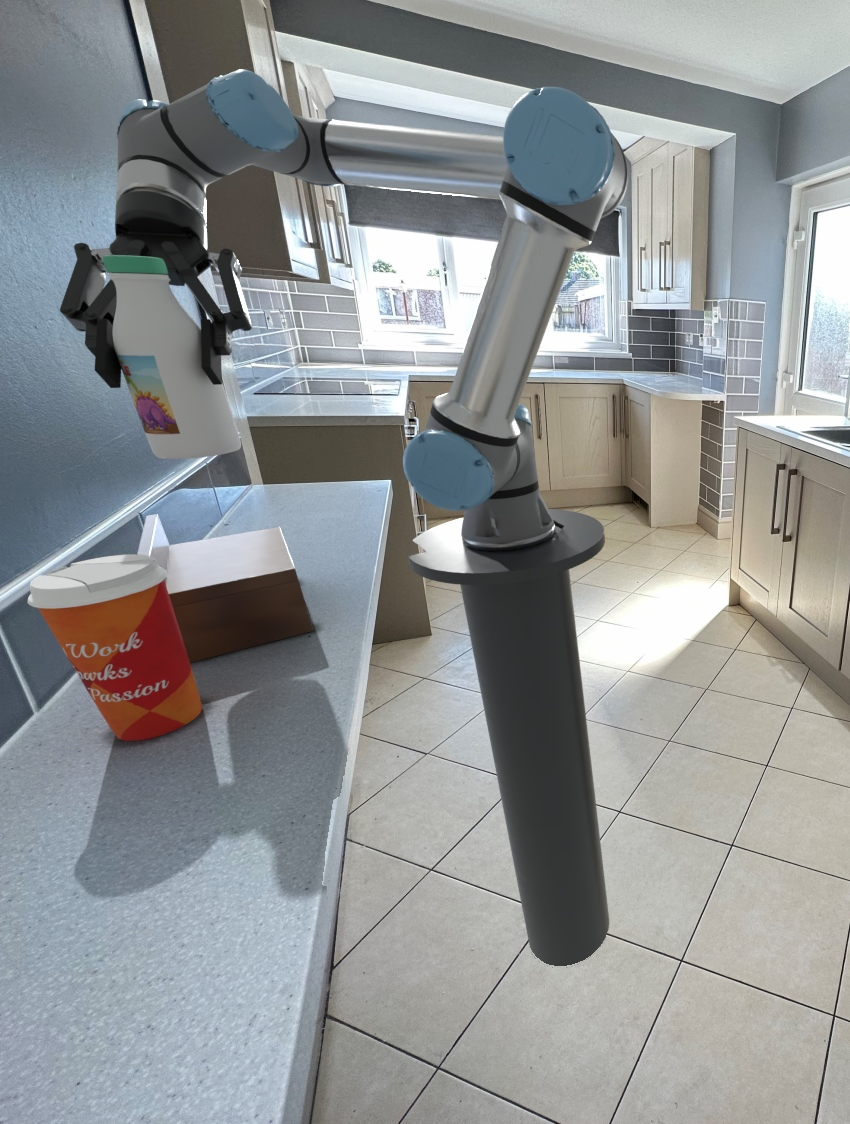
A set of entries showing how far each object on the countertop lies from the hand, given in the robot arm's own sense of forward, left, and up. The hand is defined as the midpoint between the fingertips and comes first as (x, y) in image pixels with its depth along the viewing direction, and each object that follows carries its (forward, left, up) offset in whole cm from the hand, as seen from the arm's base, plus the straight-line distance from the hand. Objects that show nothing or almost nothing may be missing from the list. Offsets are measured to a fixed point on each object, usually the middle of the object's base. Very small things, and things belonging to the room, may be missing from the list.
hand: (161, 377), depth 63 cm
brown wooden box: (0, -1, -28) cm, 28 cm away
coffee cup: (+7, +19, -28) cm, 35 cm away
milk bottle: (-1, -3, -9) cm, 9 cm away
